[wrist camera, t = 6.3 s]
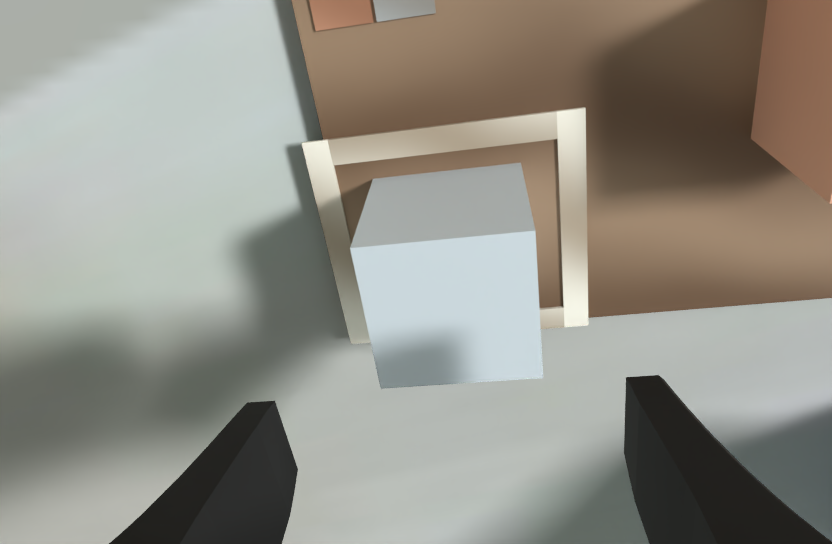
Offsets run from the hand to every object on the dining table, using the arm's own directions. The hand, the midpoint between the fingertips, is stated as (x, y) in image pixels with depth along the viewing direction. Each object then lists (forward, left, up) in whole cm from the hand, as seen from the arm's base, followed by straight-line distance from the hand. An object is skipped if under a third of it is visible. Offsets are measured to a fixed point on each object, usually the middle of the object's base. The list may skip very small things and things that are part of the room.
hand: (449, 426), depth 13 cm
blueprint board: (+3, -5, -9) cm, 11 cm away
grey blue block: (0, 0, -8) cm, 8 cm away
